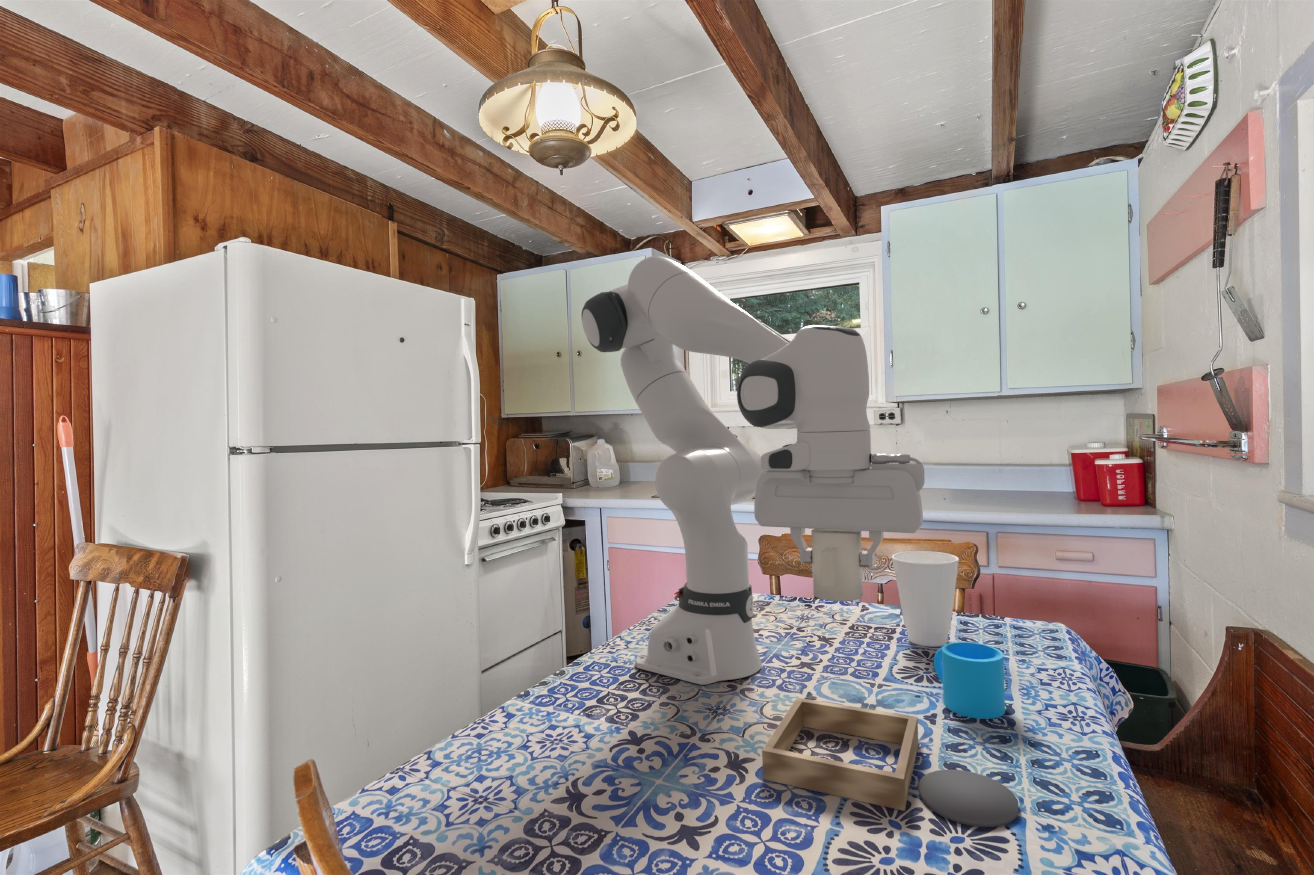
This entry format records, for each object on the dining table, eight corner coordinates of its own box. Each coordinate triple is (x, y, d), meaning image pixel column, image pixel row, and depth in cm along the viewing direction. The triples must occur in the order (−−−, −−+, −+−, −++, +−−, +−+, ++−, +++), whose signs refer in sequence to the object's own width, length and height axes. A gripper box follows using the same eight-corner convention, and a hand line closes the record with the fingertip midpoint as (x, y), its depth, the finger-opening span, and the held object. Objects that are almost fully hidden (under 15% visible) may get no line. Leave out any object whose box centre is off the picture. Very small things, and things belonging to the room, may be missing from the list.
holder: (763, 779, 77) (762, 750, 77) (797, 721, 91) (796, 697, 91) (904, 810, 70) (903, 779, 70) (918, 743, 84) (917, 716, 84)
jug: (819, 586, 84) (817, 526, 84) (866, 590, 81) (864, 528, 81) (802, 604, 76) (800, 538, 76) (854, 609, 74) (852, 540, 73)
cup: (893, 647, 119) (890, 562, 119) (895, 627, 130) (892, 549, 130) (963, 653, 114) (960, 565, 114) (960, 633, 125) (957, 551, 125)
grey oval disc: (914, 813, 69) (914, 807, 69) (922, 767, 78) (922, 762, 78) (1020, 836, 65) (1020, 831, 65) (1016, 785, 73) (1016, 780, 73)
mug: (1018, 713, 91) (1017, 656, 91) (971, 723, 89) (969, 664, 89) (957, 682, 103) (956, 631, 102) (914, 689, 100) (912, 638, 100)
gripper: (925, 452, 78) (928, 565, 78) (763, 453, 87) (766, 554, 87) (921, 455, 72) (924, 577, 72) (748, 456, 81) (751, 564, 82)
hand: (836, 564), depth 80 cm, fingers closed on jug, 6 cm apart
